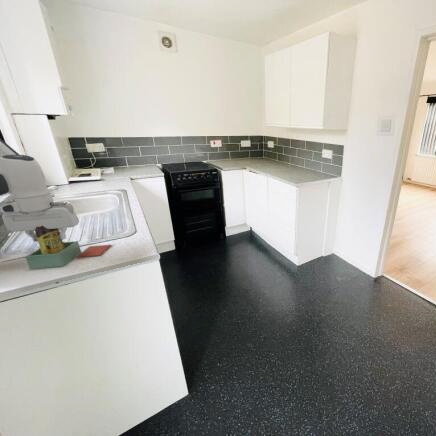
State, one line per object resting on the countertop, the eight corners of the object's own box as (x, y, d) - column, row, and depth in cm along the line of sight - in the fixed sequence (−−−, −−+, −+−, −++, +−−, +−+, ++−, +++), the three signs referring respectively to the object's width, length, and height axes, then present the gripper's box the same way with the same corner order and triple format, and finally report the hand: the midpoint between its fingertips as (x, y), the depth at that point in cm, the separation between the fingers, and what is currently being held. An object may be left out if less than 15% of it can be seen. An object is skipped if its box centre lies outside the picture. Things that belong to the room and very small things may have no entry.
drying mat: (76, 258, 93) (76, 256, 93) (90, 247, 101) (89, 246, 101) (100, 255, 94) (99, 254, 94) (111, 245, 103) (111, 244, 103)
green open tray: (30, 269, 86) (24, 256, 84) (52, 255, 95) (47, 243, 94) (63, 266, 87) (59, 253, 86) (81, 252, 97) (77, 241, 96)
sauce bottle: (52, 266, 88) (32, 213, 81) (41, 263, 89) (20, 212, 83) (73, 257, 93) (55, 208, 87) (62, 255, 95) (44, 206, 88)
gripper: (76, 198, 89) (87, 233, 93) (9, 203, 85) (24, 239, 90) (64, 203, 83) (77, 240, 88) (-8, 208, 79) (9, 246, 84)
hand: (50, 239), depth 89 cm, fingers open, 6 cm apart
